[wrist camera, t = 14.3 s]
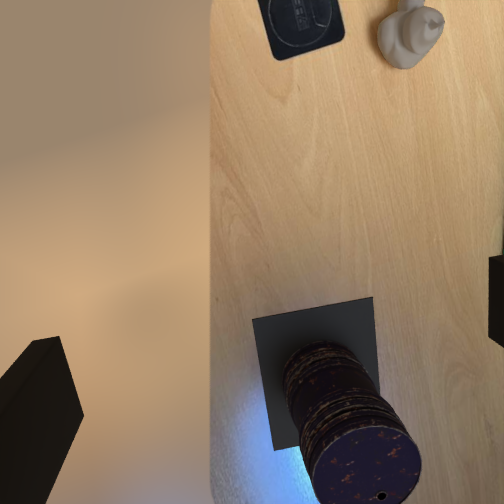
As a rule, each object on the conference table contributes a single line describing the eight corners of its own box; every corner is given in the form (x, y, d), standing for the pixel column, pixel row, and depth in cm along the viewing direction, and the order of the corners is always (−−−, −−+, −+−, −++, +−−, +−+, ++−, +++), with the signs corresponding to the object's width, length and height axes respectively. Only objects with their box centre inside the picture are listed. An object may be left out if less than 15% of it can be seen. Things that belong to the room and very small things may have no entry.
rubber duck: (368, 73, 41) (406, 58, 34) (371, -2, 40) (411, -36, 32) (421, 72, 42) (469, 57, 34) (426, -3, 40) (478, -36, 32)
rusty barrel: (265, 366, 49) (289, 463, 34) (338, 324, 48) (394, 403, 34) (305, 426, 51) (343, 538, 37) (374, 387, 51) (440, 485, 37)
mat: (252, 319, 47) (252, 319, 47) (372, 297, 48) (372, 297, 48) (273, 450, 52) (274, 450, 52) (382, 427, 53) (382, 428, 53)
